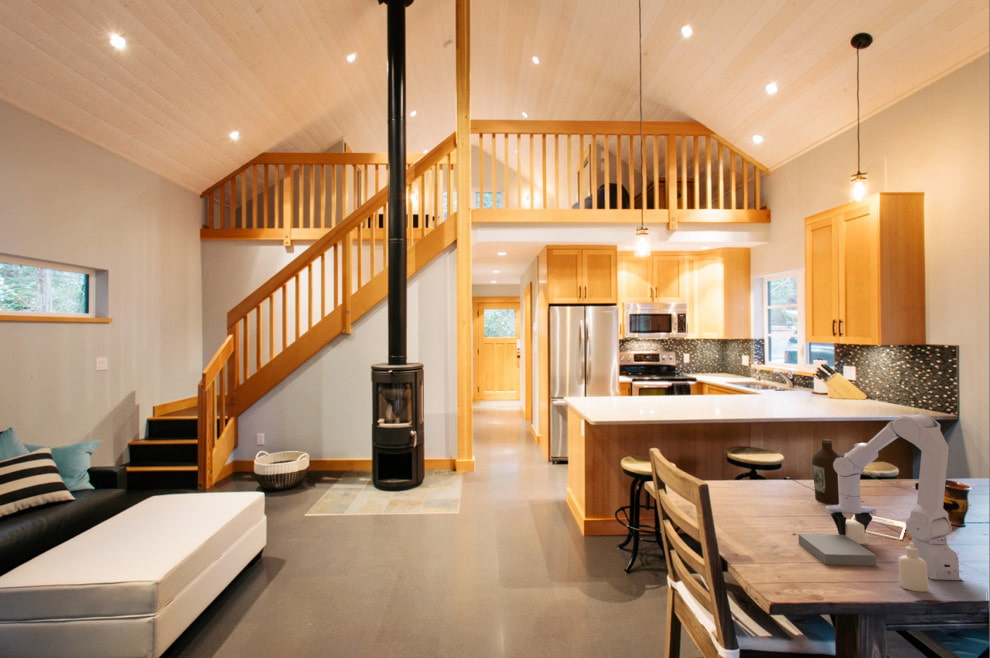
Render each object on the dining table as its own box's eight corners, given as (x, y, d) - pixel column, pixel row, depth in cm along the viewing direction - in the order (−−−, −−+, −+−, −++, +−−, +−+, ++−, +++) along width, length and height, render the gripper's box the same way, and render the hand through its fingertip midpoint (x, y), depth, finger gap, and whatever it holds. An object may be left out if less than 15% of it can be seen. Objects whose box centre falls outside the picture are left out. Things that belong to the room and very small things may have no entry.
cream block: (865, 544, 146) (864, 525, 146) (848, 543, 146) (847, 525, 147) (854, 537, 151) (853, 519, 151) (838, 537, 151) (837, 519, 152)
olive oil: (833, 496, 189) (831, 436, 189) (852, 505, 178) (849, 442, 179) (807, 496, 189) (805, 436, 190) (824, 505, 179) (822, 442, 179)
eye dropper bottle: (901, 581, 124) (899, 537, 124) (929, 589, 119) (927, 543, 120) (898, 587, 121) (895, 541, 121) (926, 595, 117) (924, 549, 117)
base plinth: (876, 565, 132) (876, 555, 132) (825, 564, 134) (825, 554, 134) (844, 544, 146) (844, 534, 146) (798, 543, 148) (798, 533, 148)
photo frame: (907, 522, 160) (901, 538, 147) (907, 525, 160) (902, 542, 147) (855, 511, 170) (846, 526, 158) (855, 514, 170) (846, 529, 158)
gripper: (864, 490, 152) (866, 530, 152) (818, 489, 154) (820, 529, 153) (879, 497, 145) (882, 539, 145) (831, 496, 147) (833, 538, 146)
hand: (851, 535), depth 149 cm, fingers open, 5 cm apart
